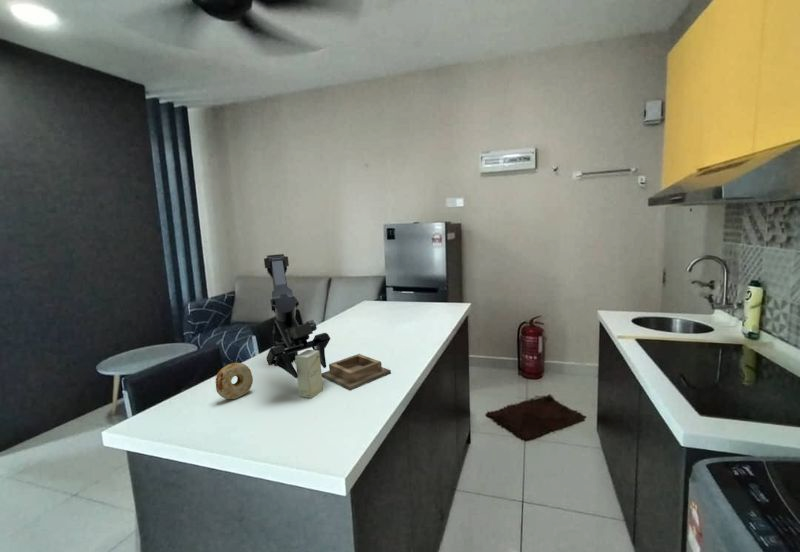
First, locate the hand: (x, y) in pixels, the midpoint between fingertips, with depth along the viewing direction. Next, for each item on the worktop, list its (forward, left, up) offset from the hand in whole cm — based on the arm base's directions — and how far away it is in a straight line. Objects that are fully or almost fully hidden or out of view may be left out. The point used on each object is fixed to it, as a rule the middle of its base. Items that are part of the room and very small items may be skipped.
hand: (311, 372), depth 110 cm
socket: (+9, +14, -7) cm, 18 cm away
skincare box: (-1, +1, -7) cm, 7 cm away
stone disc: (-23, -2, -7) cm, 24 cm away
